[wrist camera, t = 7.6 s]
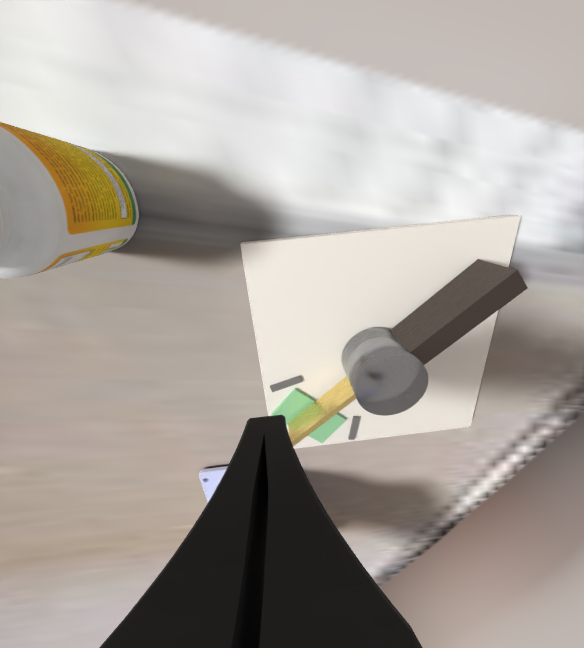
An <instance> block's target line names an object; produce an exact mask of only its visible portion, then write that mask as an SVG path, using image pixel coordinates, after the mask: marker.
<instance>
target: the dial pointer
mask: <svg viewBox="0 0 584 648" xmlns="http://www.w3.org/2000/svg"><path fill="white" fill-rule="evenodd" d="M526 289H527V286H526V284H525V283H524V281H523V279H522V277H521V276H520V274H519V272H518V271H517V270H515V269H512V268H508V267H505V266H501V265H497V264H494V263H490V262H487V261H483V260H479V259H477V260H476V261H475V262H474V263H472V264H471V265H470V266H469V267H467V268H466V269H465V270H464V271H463V272H461V273H460V274H459V275H458V276H456V277H455V278H454V279H453V280H451V281H450V282H449V283H448V284H446V285H445V286H444V287H443V288H442V289H440V290H439V291H438V292H437V293H435V294H434V295H433V296H432V297H430V298H429V299H428V300H427V301H425V302H424V303H423V304H422V305H421V306H419V307H418V308H417V309H416V310H414V311H413V312H412V313H411V314H409V315H408V316H407V317H406V318H405V319H403V320H402V321H401V322H400V323H398V324H397V325H396V326H395V327H393V328H392V329H391V330H390V331H389V330H387V329H383V328H370V329H366V330H363V331H361V332H359V333H357V334H356V335H354V336H353V337H352V338H351V339H350V340H349V341H348V342H347V343H346V345H345V347H344V349H343V351H342V356H341V362H342V366H343V369H344V371H345V373H346V375H347V376H346V377H345V378H344V379H342V380H341V381H340V382H339V383H337V384H336V385H335V386H334V387H332V388H331V389H330V390H329V391H327V392H326V393H325V394H324V395H322V396H321V397H320V398H319V399H317V400H316V401H315V402H314V403H312V404H311V405H310V406H309V407H307V408H306V409H305V410H303V411H302V412H301V413H300V414H298V415H297V416H296V417H295V418H293V419H292V420H291V421H290V422H288V428H289V436H290V439H291V442H292V445H293V446H295V445H296V444H297V443H299V442H300V441H301V440H303V439H304V438H305V437H307V436H308V435H309V434H311V433H312V432H313V431H314V430H316V429H317V428H318V427H320V426H321V425H322V424H324V423H325V422H326V421H328V420H329V419H330V418H331V417H333V416H334V415H335V414H337V413H338V412H339V411H341V410H342V409H343V408H345V407H346V406H347V405H348V404H350V403H351V402H352V401H354V400H355V399H356V398H357V401H358V403H359V404H360V406H361V407H362V408H363V409H365V410H366V411H368V412H370V413H372V414H375V415H381V416H388V415H394V414H398V413H401V412H404V411H406V410H408V409H409V408H411V407H412V406H414V405H415V404H416V403H417V402H418V401H419V400H420V399H421V398H422V396H423V395H424V393H425V391H426V389H427V386H428V380H429V377H428V372H427V370H426V368H425V366H424V365H425V364H426V363H428V362H429V361H430V360H432V359H433V358H434V357H436V356H437V355H439V354H440V353H441V352H443V351H444V350H445V349H447V348H448V347H449V346H451V345H452V344H453V343H455V342H456V341H457V340H459V339H460V338H461V337H463V336H464V335H465V334H467V333H468V332H469V331H471V330H472V329H473V328H475V327H476V326H477V325H479V324H480V323H481V322H483V321H484V320H486V319H487V318H488V317H490V316H491V315H492V314H494V313H495V312H496V311H498V310H499V309H500V308H502V307H503V306H504V305H506V304H507V303H508V302H510V301H511V300H512V299H514V298H515V297H516V296H518V295H519V294H520V293H522V292H523V291H524V290H526Z"/></svg>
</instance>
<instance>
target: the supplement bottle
mask: <svg viewBox="0 0 584 648" xmlns="http://www.w3.org/2000/svg"><path fill="white" fill-rule="evenodd" d="M138 219H139V211H138V204H137V200H136V197H135V194H134V191H133V189H132V187H131V185H130V183H129V181H128V180H127V178H126V177H125V175H124V174H123V173H122V172H121V170H120V169H119V168H118V167H117V166H116V165H114V164H113V163H112V162H111V161H110V160H108V159H107V158H105V157H104V156H102V155H100V154H99V153H97V152H95V151H92V150H90V149H87V148H84V147H80V146H77V145H74V144H71V143H68V142H65V141H61V140H58V139H55V138H51V137H48V136H45V135H41V134H38V133H34V132H31V131H28V130H25V129H21V128H18V127H15V126H11V125H8V124H5V123H1V122H0V278H1V279H7V278H18V277H24V276H29V275H33V274H36V273H40V272H43V271H47V270H50V269H53V268H57V267H60V266H64V265H67V264H70V263H73V262H77V261H81V260H84V259H87V258H90V257H94V256H98V255H101V254H104V253H107V252H110V251H113V250H116V249H118V248H120V247H122V246H123V245H125V244H126V243H127V242H128V241H129V240H130V239H131V237H132V236H133V235H134V233H135V231H136V228H137V225H138Z"/></svg>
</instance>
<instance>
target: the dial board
mask: <svg viewBox="0 0 584 648" xmlns="http://www.w3.org/2000/svg"><path fill="white" fill-rule="evenodd" d="M520 218H521V216H518V215H502V216H493V217H483V218H473V219H463V220H454V221H444V222H434V223H425V224H415V225H405V226H395V227H386V228H376V229H366V230H356V231H347V232H337V233H327V234H318V235H308V236H298V237H288V238H279V239H269V240H259V241H250V242H242V243H241V244H240V246H241V252H242V258H243V264H244V270H245V276H246V282H247V288H248V295H249V301H250V307H251V313H252V319H253V325H254V331H255V337H256V344H257V350H258V356H259V362H260V368H261V374H262V380H263V386H264V392H265V399H266V405H267V411H268V416H274V415H283V416H285V419H286V426H287V430H288V433H289V428H288V422H290V421H291V420H292V419H293V418H295V417H296V416H297V415H298V414H300V413H301V412H302V411H303V410H305V409H306V408H307V407H309V406H310V405H311V404H312V403H314V402H315V401H316V400H317V399H319V398H320V397H321V396H322V395H324V394H325V393H326V392H327V391H329V390H330V389H331V388H332V387H334V386H335V385H336V384H337V383H339V382H340V381H341V380H342V379H344V378H345V377H346V376H347V375H346V373H345V371H344V369H343V366H342V362H341V356H342V351H343V349H344V347H345V345H346V343H347V342H348V341H349V340H350V339H351V338H352V337H353V336H354V335H356V334H357V333H359V332H361V331H363V330H366V329H370V328H383V329H387V330H389V331H390V330H391V329H392V328H393V327H395V326H396V325H397V324H398V323H400V322H401V321H402V320H403V319H405V318H406V317H407V316H408V315H409V314H411V313H412V312H413V311H414V310H416V309H417V308H418V307H419V306H421V305H422V304H423V303H424V302H425V301H427V300H428V299H429V298H430V297H432V296H433V295H434V294H435V293H437V292H438V291H439V290H440V289H442V288H443V287H444V286H445V285H446V284H448V283H449V282H450V281H451V280H453V279H454V278H455V277H456V276H458V275H459V274H460V273H461V272H463V271H464V270H465V269H466V268H467V267H469V266H470V265H471V264H472V263H474V262H475V261H476V260H477V259H479V260H483V261H487V262H490V263H494V264H497V265H501V266H505V267H508V268H509V263H510V259H511V255H512V251H513V247H514V243H515V238H516V234H517V230H518V226H519V222H520ZM497 313H498V311H496V312H495V313H494V314H492V315H491V316H490V317H488V318H487V319H486V320H484V321H483V322H481V323H480V324H479V325H477V326H476V327H475V328H473V329H472V330H471V331H469V332H468V333H467V334H465V335H464V336H463V337H461V338H460V339H459V340H457V341H456V342H455V343H453V344H452V345H451V346H449V347H448V348H447V349H445V350H444V351H443V352H441V353H440V354H439V355H437V356H436V357H434V358H433V359H432V360H430V361H429V362H428V363H426V364H425V365H424V366H425V368H426V370H427V372H428V377H429V380H428V386H427V389H426V391H425V393H424V395H423V396H422V398H421V399H420V400H419V401H418V402H417V403H416V404H415V405H414V406H412V407H411V408H409V409H408V410H406V411H404V412H401V413H398V414H394V415H388V416H381V415H375V414H372V413H370V412H368V411H366V410H365V409H363V408H362V407H361V406H360V404H359V403H358V401H357V398H356V399H355V400H354V401H352V402H351V403H350V404H348V405H347V406H346V407H345V408H343V409H342V410H341V411H339V412H338V413H337V414H335V415H334V416H333V417H331V418H330V419H329V420H328V421H326V422H325V423H324V424H322V425H321V426H320V427H318V428H317V429H316V430H314V431H313V432H312V433H311V434H309V435H308V436H307V437H305V438H304V439H303V440H301V441H300V442H299V443H297V444H296V445H295V446H293V448H294V449H295V448H303V447H311V446H319V445H327V444H335V443H343V442H351V441H359V440H367V439H375V438H383V437H391V436H399V435H407V434H415V433H423V432H431V431H439V430H447V429H455V428H463V427H470V426H471V422H472V417H473V413H474V409H475V405H476V401H477V397H478V392H479V388H480V384H481V380H482V376H483V372H484V367H485V363H486V359H487V355H488V351H489V347H490V343H491V338H492V334H493V330H494V326H495V322H496V318H497Z"/></svg>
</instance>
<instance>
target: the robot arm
mask: <svg viewBox="0 0 584 648" xmlns="http://www.w3.org/2000/svg"><path fill="white" fill-rule="evenodd" d="M199 478H200V481H201V484H202V487H203V490H204V493H205V495H206V498H207V501H208V504H207V505H206V507H205V509H204V510H203V512H202V514H201V515H200V517H199V518H198V520H197V521H196V523H195V525H194V526H193V528H192V529H191V531H190V532H189V534H188V535H187V537H186V538H185V539H184V541H183V542H182V544H181V545H180V547H179V548H178V550H177V551H176V552H175V554H174V555H173V557H172V558H171V559H170V561H169V562H168V564H167V565H166V566H165V568H164V569H163V570H162V572H161V573H160V574H159V575H158V577H157V578H156V579H155V581H154V582H153V583H152V584H151V586H150V587H149V588H148V590H147V591H146V592H145V593H144V595H143V596H142V597H141V599H140V600H139V601H138V602H137V604H136V605H135V606H134V607H133V609H132V610H131V611H130V612H129V614H128V615H127V616H126V617H125V619H124V620H123V621H122V622H121V623H120V624H119V626H118V627H117V628H116V629H115V630H114V631H113V633H112V634H111V635H110V636H109V637H108V638H107V640H106V641H105V642H104V643H103V644H102V645H101V647H100V648H422V646H421V644H420V643H419V641H418V639H417V637H416V635H415V634H414V632H413V630H412V628H411V627H410V625H409V624H408V623H407V621H406V620H405V619H404V618H403V616H402V615H401V614H400V613H399V612H398V610H397V609H396V608H395V607H394V606H393V605H392V603H391V602H390V600H389V599H388V598H387V597H386V595H385V594H384V593H383V592H382V590H381V589H380V588H379V587H378V585H377V584H376V583H375V581H374V580H373V579H372V577H371V576H370V575H369V573H368V572H367V571H366V569H365V568H364V567H363V565H362V564H361V563H360V561H359V560H358V558H357V557H356V555H355V554H354V553H353V551H352V550H351V548H350V547H349V545H348V544H347V543H346V541H345V540H344V538H343V537H342V535H341V534H340V532H339V531H338V529H337V528H336V526H335V525H334V523H333V522H332V520H331V518H330V517H329V515H328V514H327V512H326V510H325V509H324V507H323V505H322V504H321V502H320V500H319V499H318V497H317V495H316V493H315V491H314V490H313V488H312V486H311V484H310V482H309V480H308V478H307V476H306V474H305V472H304V470H303V468H302V466H301V464H300V462H299V459H298V457H297V455H296V452H295V450H294V448H293V445H292V442H291V439H290V436H289V433H288V430H287V426H286V419H285V416H283V415H274V416H266V417H258V418H250V419H249V420H248V421H247V424H246V427H245V429H244V432H243V434H242V437H241V439H240V442H239V444H238V446H237V449H236V451H235V453H234V455H233V457H232V459H231V461H230V463H229V465H228V466H224V467H216V468H208V469H203V470H201V471H200V473H199Z"/></svg>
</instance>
